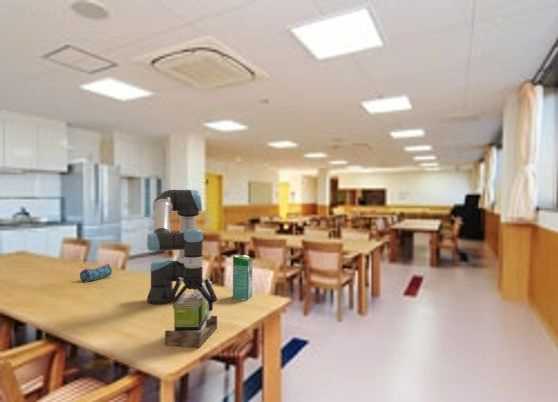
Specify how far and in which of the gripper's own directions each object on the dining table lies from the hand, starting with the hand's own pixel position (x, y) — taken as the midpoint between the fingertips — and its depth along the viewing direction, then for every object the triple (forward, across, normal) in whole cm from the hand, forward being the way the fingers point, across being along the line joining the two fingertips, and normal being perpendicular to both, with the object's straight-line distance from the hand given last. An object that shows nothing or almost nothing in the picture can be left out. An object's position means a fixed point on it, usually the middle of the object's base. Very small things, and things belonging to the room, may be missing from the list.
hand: (192, 317), depth 138 cm
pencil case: (+8, -111, +88) cm, 141 cm away
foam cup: (+8, -11, +38) cm, 41 cm away
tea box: (+6, -1, 0) cm, 6 cm away
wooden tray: (+8, 0, 0) cm, 8 cm away
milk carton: (+8, +6, +58) cm, 59 cm away
